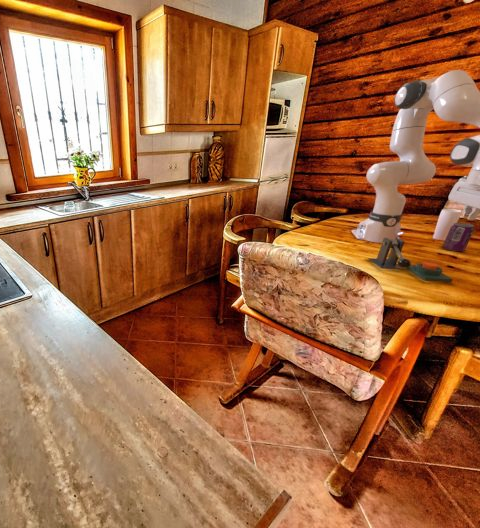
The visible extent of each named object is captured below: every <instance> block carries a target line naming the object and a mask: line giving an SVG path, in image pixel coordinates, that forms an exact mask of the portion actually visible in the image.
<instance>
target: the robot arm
mask: <svg viewBox="0 0 480 528" xmlns="http://www.w3.org/2000/svg"><path fill="white" fill-rule="evenodd" d="M393 101H394V102H393V104H394V106H395V107H396V109H399V111H398V113H397V115H396V117H395V119H394V123H393V126H392V131H391V135H390V141H389V150H390V152H392V153H394V154H396V155H397V156H398V158H399V160H395V161H394V160H393V161H391V160H390V161H382V162H378V163H374V164H373V165H371V166H370V167H369V168H368V169H367V172H366V181H367V182H368V183H369V184H370V185H371V186H372V188H373V189H374V191H375V201H374V205H373V209H372V211H370V212H369V215H368V217H367V218H366V219H365V220H362V221H360V222H359V223H358V224H357V226H356V228H355V229H352V230H351V231H350V232H351V233H352V234H353V236H354V237H355V239H356V240H361V241H367V242H371V243H376V244H382V242H383V239H384V238H388V239H395V238H399V239H401V238H400V237H399V236H400V235H402V234H403V233H404V232H403V231H402V232H401V229H402V228H401V227H402V224H401V223H400V222H401V220H402V218H403V211H404V208H405V205H406V203H407V198H406V196H405V195H404V194H403V193H401V192H399V191H398V188H399V187H398V186H414V185H419V184H425V183H429V181H431V180H432V179H433V178H434V176H436V175H435V174H436V172H437V167H436V164H435V163H434V162H432V161H431V160H430V159H429V158H428V157H427V155H426V154H425V151H424V138H425V133H426V128H427V123H428V122H427V121H428V117H429V114H430V113H431V112H433V110H434V113H435V115H436V116H437V117H438V118H439V119H441V121H444V122H450V123H461V124H466V125H467V124H468V125H471V126H474V127H478V128H479V129H480V89H479V88H478V87H477V85H476V83H475V81H474V80H473V77H471V76H470V75H469V73H468V72H466V71H465V70H462V69H453V70H449V71H447V72H445V73H443V74H442V75H440V76H438V77H433V78H426V79H421V80H412V81H409V82H406V83H404V84H402V86H401V87H399V89H398V91H397V92H396V94H395V96H394V100H393ZM449 159H450V161H451V163H452V164H453V165H455V166H459V167H460V166H461V167H471V168H470V171H469V173H468V175H463V176H462V177H461V178H459V179H458V181H456V182H455V184H454V185H453V187H452V189H451V190H450V192H449V195H448V198H447V199H448V201H450V202H453V203H457V204H460V205H463V207H462V212H463V215H462V219H465V220H468V221H475V220H476V219H477V217H478V216H479V215H480V134H477V135H474V136H471V137H465V138H463V139H461V140H460V141H458V142H457V143H456V144H454V146H453V148H452V149H451V151H450V154H449Z"/></svg>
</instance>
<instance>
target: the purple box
mask: <svg viewBox="0 0 480 528" xmlns="http://www.w3.org/2000/svg"><path fill="white" fill-rule="evenodd" d="M474 231H475V225H474V224H472V223H465V222H457V223H454V225H453V226H451V228H450V230H449V232H448V235H447V237H446V239H445V241H443V244H442V248H443V249H445V250H447V251H451V252H462V251H463V252H464V251H465V250H466V248H467V247H468V244H469V242H470V240H471V238H472V236H473V234H474Z"/></svg>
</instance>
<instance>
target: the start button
mask: <svg viewBox="0 0 480 528" xmlns="http://www.w3.org/2000/svg"><path fill="white" fill-rule="evenodd" d="M422 264H423V265H422V267H423V268H426V269H431V270H437V267H439V264H437V263H435V262H432V261H431V262H430V261H424V262H423V263H422Z"/></svg>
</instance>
